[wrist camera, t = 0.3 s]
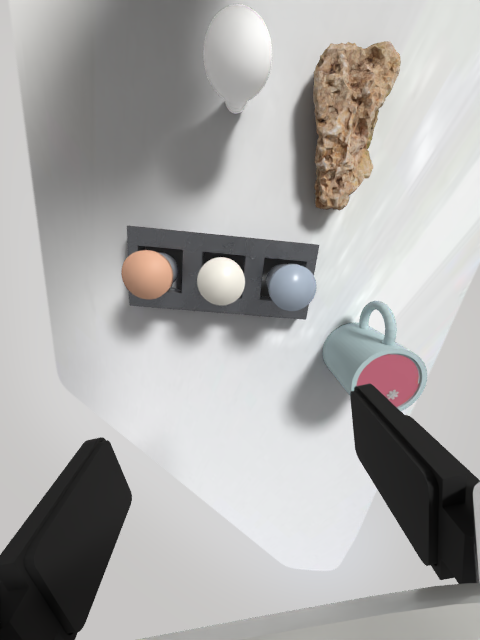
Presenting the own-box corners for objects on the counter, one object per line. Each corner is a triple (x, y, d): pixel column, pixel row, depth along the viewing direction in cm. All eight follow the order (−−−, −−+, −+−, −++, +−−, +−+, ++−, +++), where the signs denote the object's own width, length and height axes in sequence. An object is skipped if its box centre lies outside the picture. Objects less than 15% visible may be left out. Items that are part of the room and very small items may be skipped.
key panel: (135, 227, 34) (127, 225, 31) (311, 244, 35) (319, 244, 33) (137, 300, 37) (129, 305, 34) (300, 313, 38) (306, 319, 35)
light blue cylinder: (265, 259, 33) (273, 262, 27) (304, 262, 34) (320, 267, 28) (260, 297, 35) (267, 309, 29) (298, 301, 35) (311, 312, 29)
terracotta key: (140, 247, 32) (120, 248, 26) (182, 251, 33) (171, 253, 27) (141, 287, 34) (122, 297, 28) (180, 291, 34) (170, 301, 28)
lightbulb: (227, 144, 32) (226, 96, 21) (199, 92, 30) (183, 11, 19) (270, 115, 31) (291, 49, 20) (244, 60, 29) (253, -43, 19)
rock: (396, 203, 32) (325, 211, 30) (367, 207, 36) (304, 214, 34) (414, 25, 26) (328, 19, 24) (377, 57, 31) (301, 54, 29)
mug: (375, 375, 42) (418, 414, 32) (319, 376, 42) (346, 415, 32) (390, 293, 38) (444, 310, 28) (329, 293, 38) (363, 310, 28)
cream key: (203, 253, 33) (198, 255, 27) (244, 256, 33) (247, 260, 27) (201, 292, 34) (196, 303, 28) (240, 296, 35) (242, 307, 29)
